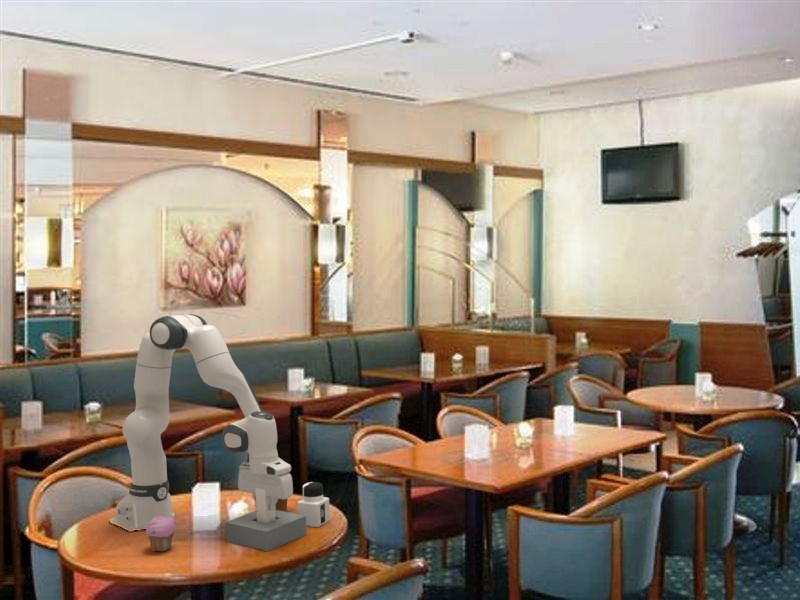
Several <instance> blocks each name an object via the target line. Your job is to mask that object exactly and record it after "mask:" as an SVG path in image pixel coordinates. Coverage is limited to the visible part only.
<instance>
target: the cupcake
mask: <svg viewBox="0 0 800 600" xmlns="http://www.w3.org/2000/svg"><path fill="white" fill-rule="evenodd" d="M176 531H177V523H176V522H175V519H174V520H173V519H172V518H168V517H163V516H161V517H155V518H153V519H152V520H151V522H150V523H149V524H148V526H147V528H146V530H145V532H146V536H148V538H149V542H150V548H151V551H152V552H154V551H161V552H166V551H168V550H169V549H170V548H172V543H173V537H174V533H176Z"/></svg>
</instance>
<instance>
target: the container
mask: <svg viewBox="0 0 800 600" xmlns="http://www.w3.org/2000/svg"><path fill="white" fill-rule="evenodd" d="M296 508H297V514H299V515H304V516H306V527H311V528H320V527H321V526H323V525H325V524H327V523H328V522H330V520H331V517H330V515H331V513H330V512H331V511H330V498H329V497H326V496H324V485H323V484H322V483H321V482H318V481H310V482H307V483H304V484H303V485H302V499H301V500H299V501H297V507H296Z"/></svg>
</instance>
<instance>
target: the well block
mask: <svg viewBox="0 0 800 600" xmlns="http://www.w3.org/2000/svg"><path fill="white" fill-rule="evenodd" d="M224 525H225V527H224V528H225V529H224V531H225V542H227V543H230V544H235V545H238V546H239V545H240V546H244V547H248V548H252V549H255V550H260V551H263V552H269V551H271V550H275V549H277V548H279V547H281V546H283V545H286V544H288V543H290V542H293V541H296V540H297V539H300V538H303V537H305V536H307V526H306V516H304V515H299V514H298V513H295V512H288V511H286V512H284V511H280V510H275V520H274V521H271V522H269V523H261V522H257V510H254V511H251V512H249V513H246V514H243V515H241V516H238V517H235V518H233V519H230V520H228V521H225V522H224Z"/></svg>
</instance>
